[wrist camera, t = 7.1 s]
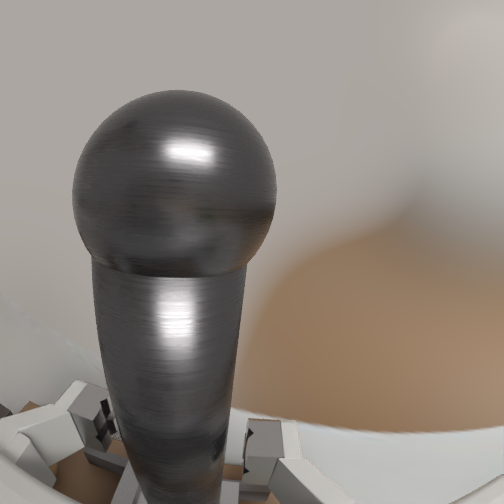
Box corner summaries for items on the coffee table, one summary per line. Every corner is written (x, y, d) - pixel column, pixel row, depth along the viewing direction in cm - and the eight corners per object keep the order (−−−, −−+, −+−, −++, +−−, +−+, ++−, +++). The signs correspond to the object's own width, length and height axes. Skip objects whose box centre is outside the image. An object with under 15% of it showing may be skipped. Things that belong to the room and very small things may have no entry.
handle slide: (234, 501, 11) (294, 133, 7) (230, 566, 6) (355, 47, 2) (140, 483, 11) (104, 125, 7) (120, 543, 6) (-17, 86, 2)
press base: (302, 476, 15) (324, 432, 14) (316, 605, 3) (359, 599, 2) (35, 412, 15) (14, 360, 14) (-27, 493, 3) (-73, 443, 2)
